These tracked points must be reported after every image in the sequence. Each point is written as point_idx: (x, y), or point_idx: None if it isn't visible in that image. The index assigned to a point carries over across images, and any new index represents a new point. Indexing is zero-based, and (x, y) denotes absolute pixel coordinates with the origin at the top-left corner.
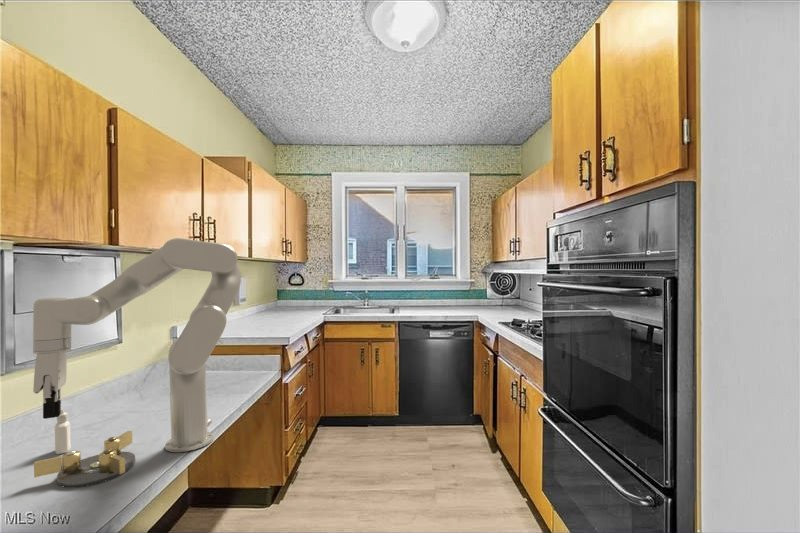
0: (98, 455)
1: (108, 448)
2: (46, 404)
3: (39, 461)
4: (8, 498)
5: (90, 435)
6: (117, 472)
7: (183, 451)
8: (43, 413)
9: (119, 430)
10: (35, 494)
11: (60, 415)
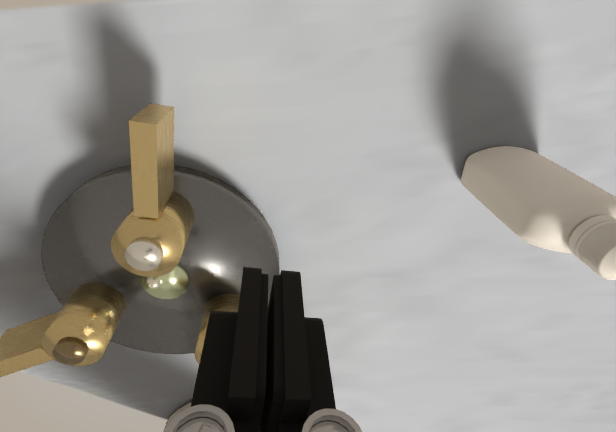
0: (271, 277)
1: (201, 329)
2: (226, 396)
3: (138, 141)
4: (84, 10)
5: None
6: (16, 328)
7: (167, 421)
8: (241, 298)
9: (534, 311)
10: (69, 103)
11: (606, 254)
